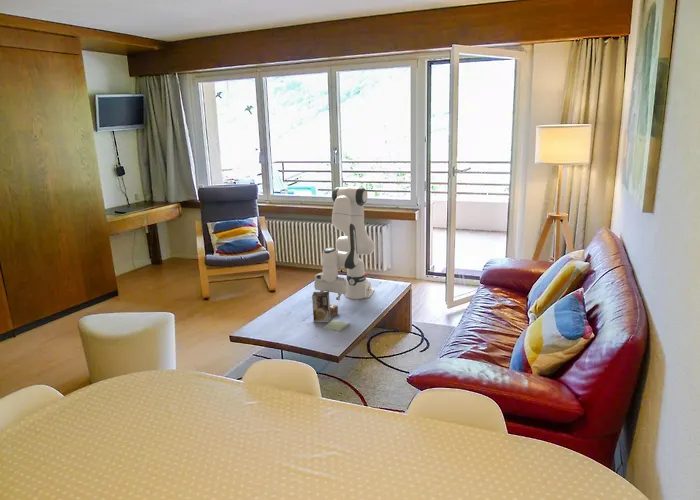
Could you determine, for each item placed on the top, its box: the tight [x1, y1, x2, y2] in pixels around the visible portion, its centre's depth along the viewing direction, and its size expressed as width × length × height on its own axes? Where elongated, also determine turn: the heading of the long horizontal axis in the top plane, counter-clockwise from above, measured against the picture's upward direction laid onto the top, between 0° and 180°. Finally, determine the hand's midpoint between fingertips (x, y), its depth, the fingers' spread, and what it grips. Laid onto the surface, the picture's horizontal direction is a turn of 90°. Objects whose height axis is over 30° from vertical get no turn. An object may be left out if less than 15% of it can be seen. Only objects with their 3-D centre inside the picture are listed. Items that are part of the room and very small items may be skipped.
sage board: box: [323, 319, 350, 333], centre depth 276 cm, size 11×10×1 cm
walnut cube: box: [330, 303, 339, 317], centre depth 294 cm, size 5×5×5 cm
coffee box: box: [311, 291, 331, 323], centre depth 284 cm, size 9×6×16 cm
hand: (331, 298), depth 291 cm, fingers open, 8 cm apart
